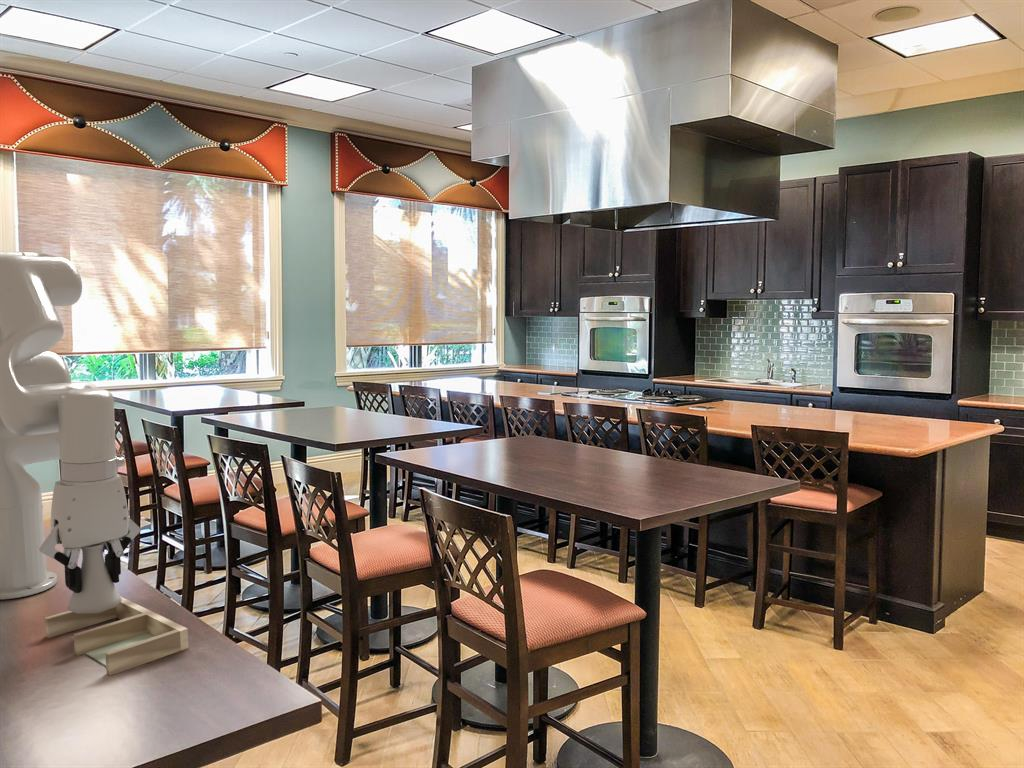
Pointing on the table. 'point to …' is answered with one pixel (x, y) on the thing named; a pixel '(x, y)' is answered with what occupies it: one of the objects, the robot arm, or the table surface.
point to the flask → (94, 584)
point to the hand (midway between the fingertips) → (93, 584)
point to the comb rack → (121, 635)
